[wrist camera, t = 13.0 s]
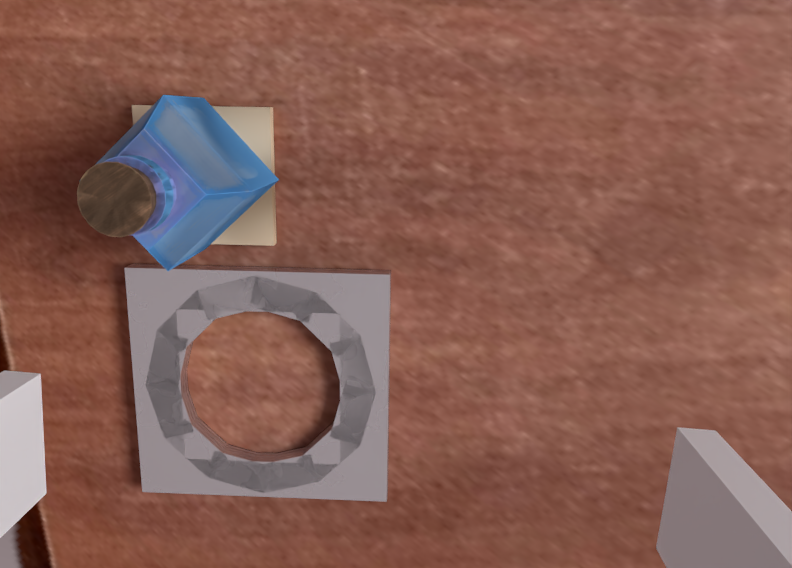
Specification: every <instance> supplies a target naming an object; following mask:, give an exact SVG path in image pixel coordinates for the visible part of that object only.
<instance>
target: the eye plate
mask: <svg viewBox="0 0 792 568" xmlns="http://www.w3.org/2000/svg"><path fill="white" fill-rule="evenodd" d="M125 281H126V294H127V306H128V319H129V331H130V344H131V356H132V369H133V381H134V394H135V406H136V419H137V431H138V444H139V457H140V469H141V482H142V492H157V493H183V494H208V495H233V496H259V497H284V498H310V499H335V500H360V501H386V502H387V494H388V443H389V375H390V306H391V270H362V269H323V268H284V267H245V266H206V265H178V266H176V267H175V268H173V269H171V270H170V271H167V270H166V269H165V268H164V267H163V266H162V265H161V264H131V265H129V266H127V267H125ZM245 311H259V312H271V313H274V314H278V315H281V316H285V317H288V318H292V319H295V320H299V321H301V322H302V323H303V324H304V325H305V326H306V327H307V328H308V329H309V330H310V331H311V332H312V333H313V334H314V335H315V336H316V337H317V338H318V339H319V340H320V341H321V342H322V343H323V344H324V345H325V346H326V347H327V348H328V349H329V350H330V351H331V352H332V355H333V359H334V362H335V366H336V369H337V373H338V376H339V380H340V403H339V406H338V410H337V413H336V417H335V420H334V422H333V423H332V424H331V425H330V426H329V427H327V428H326V429H325V430H324V431H323V432H322V433H321V434H320V435H319V436H317V437H316V438H315V439H314V440H313V441H312V442H311V443H310V444H309V445H307V446H306V447H303V448H299V449H294V450H289V451H284V452H280V453H260V452H254V451H250V450H247V449H243V448H239V447H236V446H232V445H229V444H227V443H226V442H225V441H224V440H222V439H221V438H220V437H219V436H218V435H217V434H216V433H215V432H214V431H213V430H212V429H211V428H209V427H208V426H207V425H206V424H205V423H204V422H203V421H202V420H201V419H200V418H199V417H198V416H197V414H196V411H195V408H194V405H193V402H192V399H191V396H190V393H189V390H188V381H187V366H188V362H189V357H190V353H191V348H192V344H193V340H195V339H196V338H197V337H198V336H199V335H200V334H201V333H202V332H203V331H204V330H205V329H206V328H207V327H208V326H209V325H210V324H211V323H212V322H213V321H214V320H215V319H216V318H220V317H224V316H228V315H232V314H237V313H241V312H245Z"/></svg>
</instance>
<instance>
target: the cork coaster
mask: <svg viewBox="0 0 792 568" xmlns="http://www.w3.org/2000/svg"><path fill="white" fill-rule="evenodd" d="M152 106H153V105H132V117H133V125H134V124H135V123H136V122H137V121H138V120H139V119H140V118H141V117H142V116H143V115H144V114H145V113H146V112H147V111H148V110H149V109H150V108H151V107H152ZM212 107H213V108H214V109H215V111H216V112H217V113H218V114H219V115H220V116H221V117H222V118H223V119H224V120H225V121H226V123H227V124H228V125H229V126H230V127H231V128H232V129H233V130H234V131H235V132H236V133H237V135H238V136H239V137H240V138H241V139H242V140H243V141H244V142H245V143H246V144H247V145H248V146H249V148H250V149H251V150H252V151H253V152H254V153H255V154H256V155H257V156H258V157H259V158H260V160H261V161H262V162H263V163H264V164H265V165H266V166H267V167H268V168H269V169H270V170H271V172H272V173H273V174H274V175H275V168H274V129H273V107H221V106H212ZM211 244H227V245H268V246H274V245H275V244H276V207H275V184H274V185H273V186H272V187H271V188H270V189H269V190H268V191H267V192H266V193H264V194H263V195H262V196H261V197H260V198H259V199H258V200H257V201H256V202H255V203H254V204H253V205H252V206H251V207H250V208H249V209H247V210H246V211H245V212H244V213H243V214H242V215H241V216H240V217H239V218H238V219H237V220H236V221H235V222H234V223H233V224H232V225H230V226H229V227H228V228H227V229H226V230H225V231H224V232H223V233H222V234H221V235H220V236H219V237H218V238H217V239H216V240H215V241H213V242H212V243H211Z"/></svg>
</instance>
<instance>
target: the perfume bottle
mask: <svg viewBox="0 0 792 568" xmlns="http://www.w3.org/2000/svg"><path fill="white" fill-rule="evenodd" d="M278 180H279V179H278V178H277V177H276V176H275V175H274V174H273V173H272V172H271V170H270V169H269V168H268V167H267V166H266V165H265V164H264V163H263V162H262V161H261V160H260V158H259V157H258V156H257V155H256V154H255V153H254V152H253V151H252V150H251V149H250V148H249V146H248V145H247V144H246V143H245V142H244V141H243V140H242V139H241V138H240V137H239V136H238V135H237V133H236V132H235V131H234V130H233V129H232V128H231V127H230V126H229V125H228V124H227V123H226V121H225V120H224V119H223V118H222V117H221V116H220V115H219V114H218V113H217V112H216V111H215V109H214V108H213V107H212V106H211V105H210V104H209V103H208V102H207V101H206V100H205V99H204V98H198V97H185V96H172V95H163V96H162V97H161V98H160V99H159V100H158V101H157V102H156V103H155V104H154V105H153V106H152V107H151V108H150V109H149V110H148V111H147V112H146V113H145V114H144V115H143V116H142V117H141V118H140V119H139V120H138V121H137V122H136V123H135V124H134V125H133V126H132V127H131V128H130V129H129V130H128V131H127V132H126V134H125V135H124V136H123V137H122V138H121V139H120V140H119V141H118V142H117V143H116V144H115V145H114V146H113V147H112V148H111V149H110V150H109V151H108V152H107V153H106V154H105V155H104V156H103V157H102V158H101V159H100V160H99V161H98V162H97V163H96V164H95V165H94V166H93V167H91V168H90V169H89V170H87V171H86V172H85V174H84V175H83V177H82V178H81V179H80V180H79V181H80V182H79V186H78V189H77V202H78V206H79V209H80V211H81V214H82V216H83V217H84V219H85V220H86V221H87V223H88V224H89V225H90V226H91V227H93V228H94V229H95V230H97V231H98V232H100V233H102V234H105V235H107V236H110V237H124V236H128V235H132V236H134V237H135V238H136V239H137V240H138V241H139V242H140V243H141V244H142V245H143V247H144V248H145V249H146V250H147V251H148V252H149V253H150V254H151V255H152V256H153V257H154V258H155V259H156V260H157V261H158V262H159V263H160V264H161V265H162V266H163V267H164V268H165V269H166V270H167V271H170V270H171V269H173V268H175V267H176V266H178V265H180V264H181V263H183V262H185V261H186V260H188V259H190V258H191V257H193V256H195V255H196V254H198V253H200V252H201V251H203V250H205V249H206V248H207V247H208V246H209V245H210V244H211V243H212V242H213V241H215V240H216V239H217V238H218V237H219V236H220V235H221V234H222V233H223V232H224V231H225V230H226V229H227V228H228V227H229V226H230V225H232V224H233V223H234V222H235V221H236V220H237V219H238V218H239V217H240V216H241V215H242V214H243V213H244V212H245V211H246V210H247V209H249V208H250V207H251V206H252V205H253V204H254V203H255V202H256V201H257V200H258V199H259V198H260V197H261V196H262V195H263V194H264V193H266V192H267V191H268V190H269V189H270V188H271V187H272V186H273V185H274V184H275V183H276V182H277V181H278Z"/></svg>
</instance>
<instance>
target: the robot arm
mask: <svg viewBox="0 0 792 568" xmlns="http://www.w3.org/2000/svg"><path fill="white" fill-rule="evenodd" d="M45 494H46V474H45V453H44V433H43V412H42V391H41V374H39V373H27V372H15V371H3V372H1V373H0V538H1V537H2V536H3V535H4V534H5V533H6V532H7V531H8V530H9V529H10V528H11V527H12V526H13V525H14V524H15V523H16V522H17V521H18V520H19V519H20V518H22V517H23V516H24V515H25V514H26V513H27V512H28V511H29V510H30V509H31V508H32V507H33V506H34V505H35V504H36V503H37V502H38V501H39V500H40V499H41V498H42V497H43V496H44V495H45ZM656 549H657V551H658V552H659V554H660V556H661V558H662V560H663V562H664V563H665V565H666V567H667V568H792V511H791V510H790V509H789V508H788V507H787V506H786V505H785V504H784V503H783V502H782V501H781V500H780V498H779V497H778V496H777V495H776V494H775V493H774V492H773V491H772V490H771V489H770V488H769V487H768V486H767V485H766V484H765V483H764V481H763V480H762V479H761V478H760V477H759V476H758V475H757V474H756V473H755V472H754V471H753V470H752V469H751V468H750V467H749V466H748V464H747V463H746V462H745V461H744V460H743V459H742V458H741V457H740V456H739V455H738V454H737V453H736V452H735V451H734V450H733V449H732V448H731V446H730V445H729V444H728V443H727V442H726V441H725V440H724V439H723V438H722V437H721V436H720V435H719V434H718V433H717V432H716V431H714V430H702V429H690V428H678V427H677V432H676V438H675V444H674V449H673V455H672V461H671V466H670V472H669V478H668V483H667V489H666V495H665V500H664V506H663V512H662V517H661V523H660V529H659V534H658V540H657V546H656Z"/></svg>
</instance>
